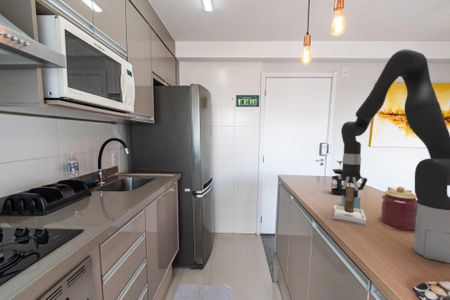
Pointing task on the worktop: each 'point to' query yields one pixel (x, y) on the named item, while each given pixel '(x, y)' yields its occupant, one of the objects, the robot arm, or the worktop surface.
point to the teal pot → (356, 202)
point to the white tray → (349, 215)
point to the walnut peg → (349, 199)
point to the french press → (337, 190)
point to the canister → (399, 209)
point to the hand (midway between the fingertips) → (349, 196)
